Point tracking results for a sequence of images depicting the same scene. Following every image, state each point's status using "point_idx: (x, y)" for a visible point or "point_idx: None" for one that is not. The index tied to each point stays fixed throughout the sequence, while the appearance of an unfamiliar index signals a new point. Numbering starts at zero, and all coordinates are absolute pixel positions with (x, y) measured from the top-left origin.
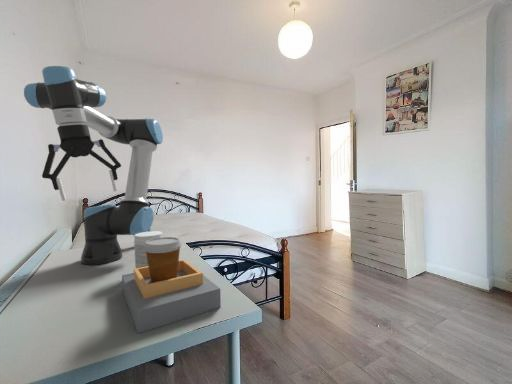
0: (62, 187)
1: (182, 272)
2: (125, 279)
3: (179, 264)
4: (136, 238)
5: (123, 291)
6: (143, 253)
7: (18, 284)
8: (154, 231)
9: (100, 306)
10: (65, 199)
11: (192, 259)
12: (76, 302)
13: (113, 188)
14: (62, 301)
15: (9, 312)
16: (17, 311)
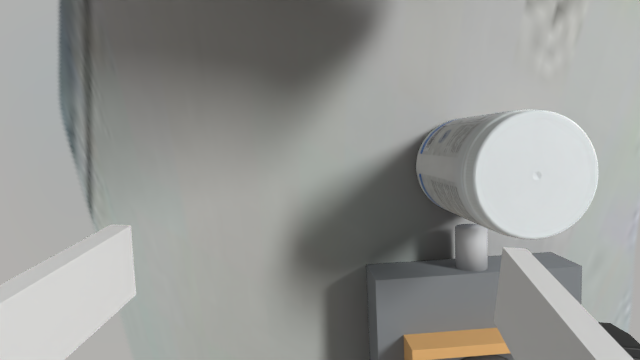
0: (64, 312)
1: None
2: (381, 325)
3: None
4: (473, 201)
5: (368, 286)
6: (468, 219)
7: (66, 10)
8: (572, 132)
9: (311, 331)
10: (132, 281)
11: (628, 82)
12: (255, 273)
13: (504, 338)
14: (221, 246)
15: None
16: None
